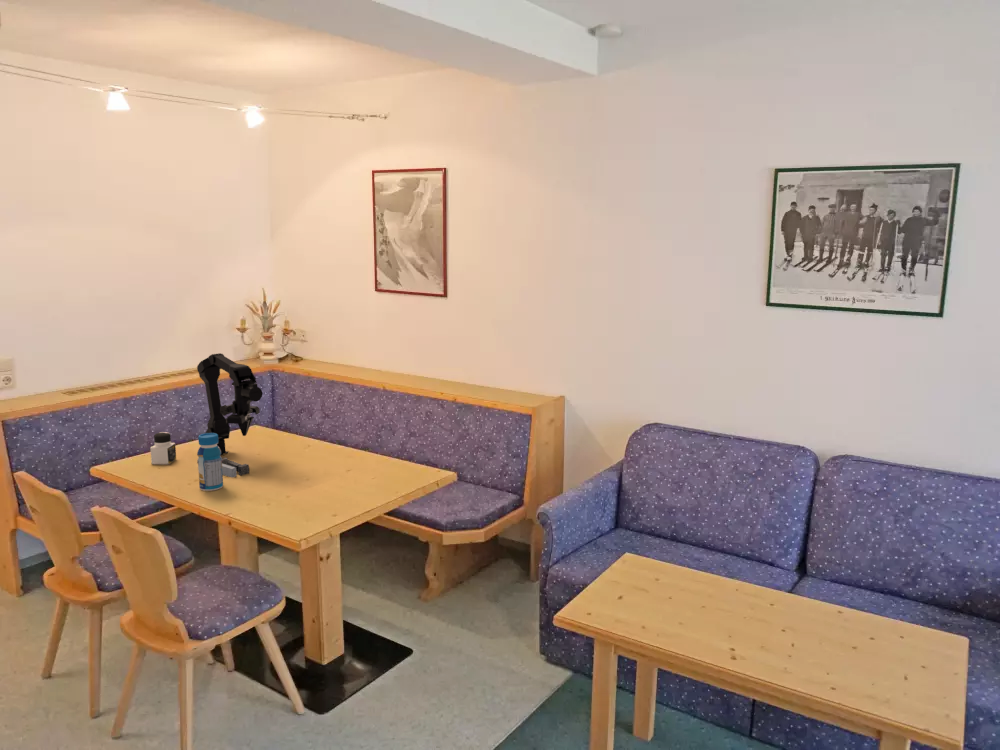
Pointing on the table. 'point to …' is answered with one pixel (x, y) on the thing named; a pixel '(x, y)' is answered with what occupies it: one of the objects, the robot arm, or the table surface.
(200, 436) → the beverage bottle
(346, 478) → the table surface
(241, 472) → the grey square block
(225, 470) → the door board
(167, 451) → the medicine bottle
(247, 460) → the table surface
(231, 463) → the lock bar
